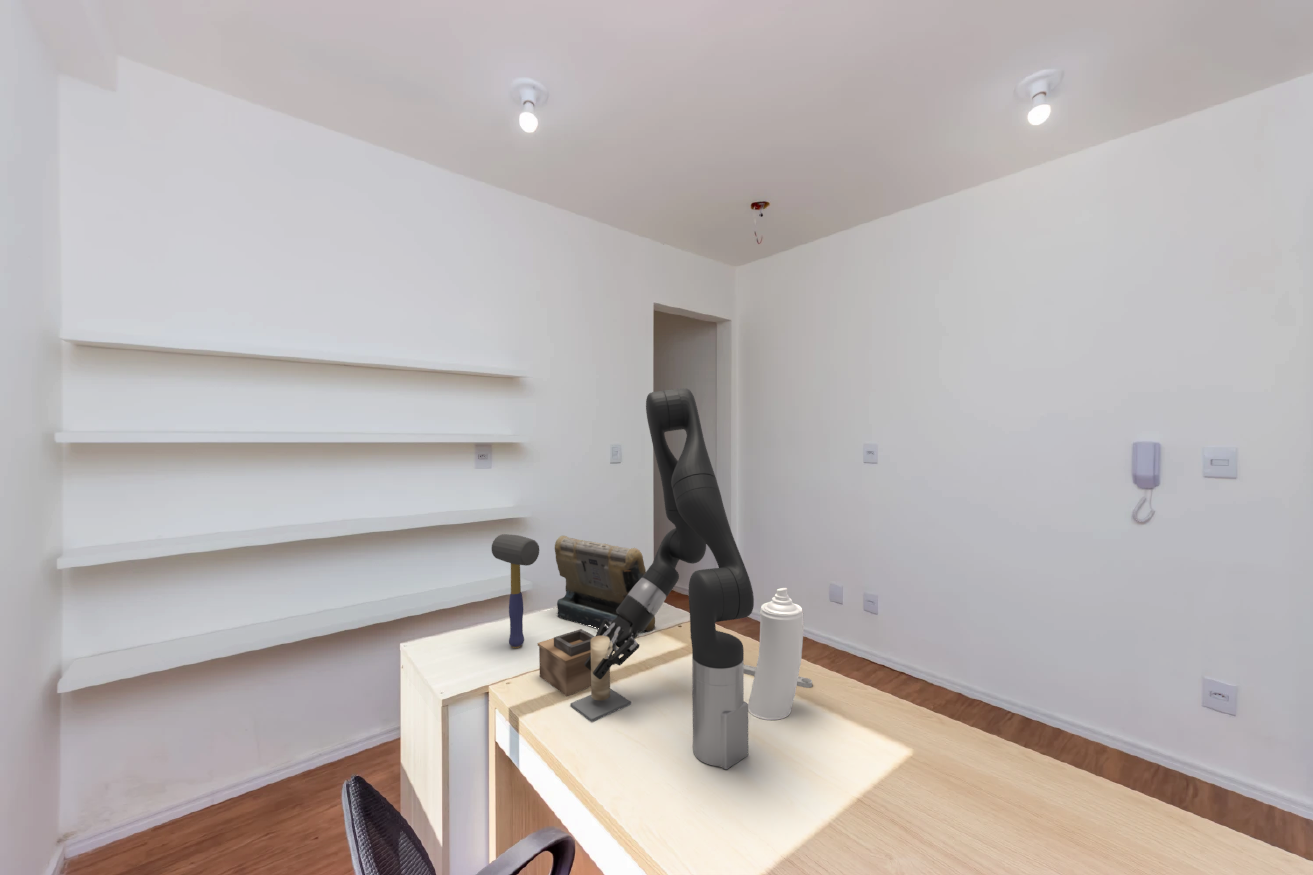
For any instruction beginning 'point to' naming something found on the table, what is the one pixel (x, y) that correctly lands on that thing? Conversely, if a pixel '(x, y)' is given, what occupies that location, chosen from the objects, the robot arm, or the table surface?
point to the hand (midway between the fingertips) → (592, 671)
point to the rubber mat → (600, 705)
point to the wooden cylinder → (598, 652)
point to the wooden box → (566, 661)
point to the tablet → (596, 579)
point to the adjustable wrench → (801, 681)
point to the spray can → (777, 658)
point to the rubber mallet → (515, 576)
